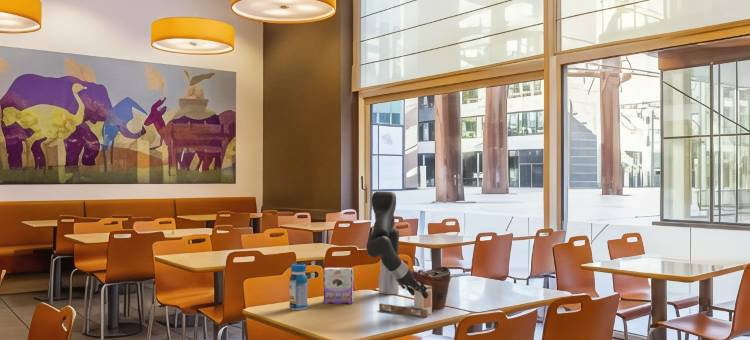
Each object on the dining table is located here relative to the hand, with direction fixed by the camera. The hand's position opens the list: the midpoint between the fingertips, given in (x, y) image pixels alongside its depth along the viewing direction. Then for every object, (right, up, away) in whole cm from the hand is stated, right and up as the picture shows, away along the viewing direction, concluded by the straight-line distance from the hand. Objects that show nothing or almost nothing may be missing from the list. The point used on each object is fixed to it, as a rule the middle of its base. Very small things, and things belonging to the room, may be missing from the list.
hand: (420, 295), depth 283 cm
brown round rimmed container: (+6, -8, +15) cm, 18 cm away
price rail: (-8, -8, 0) cm, 11 cm away
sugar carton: (+1, -8, +1) cm, 8 cm away
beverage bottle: (-55, -8, +11) cm, 56 cm away
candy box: (-37, -8, +24) cm, 45 cm away
